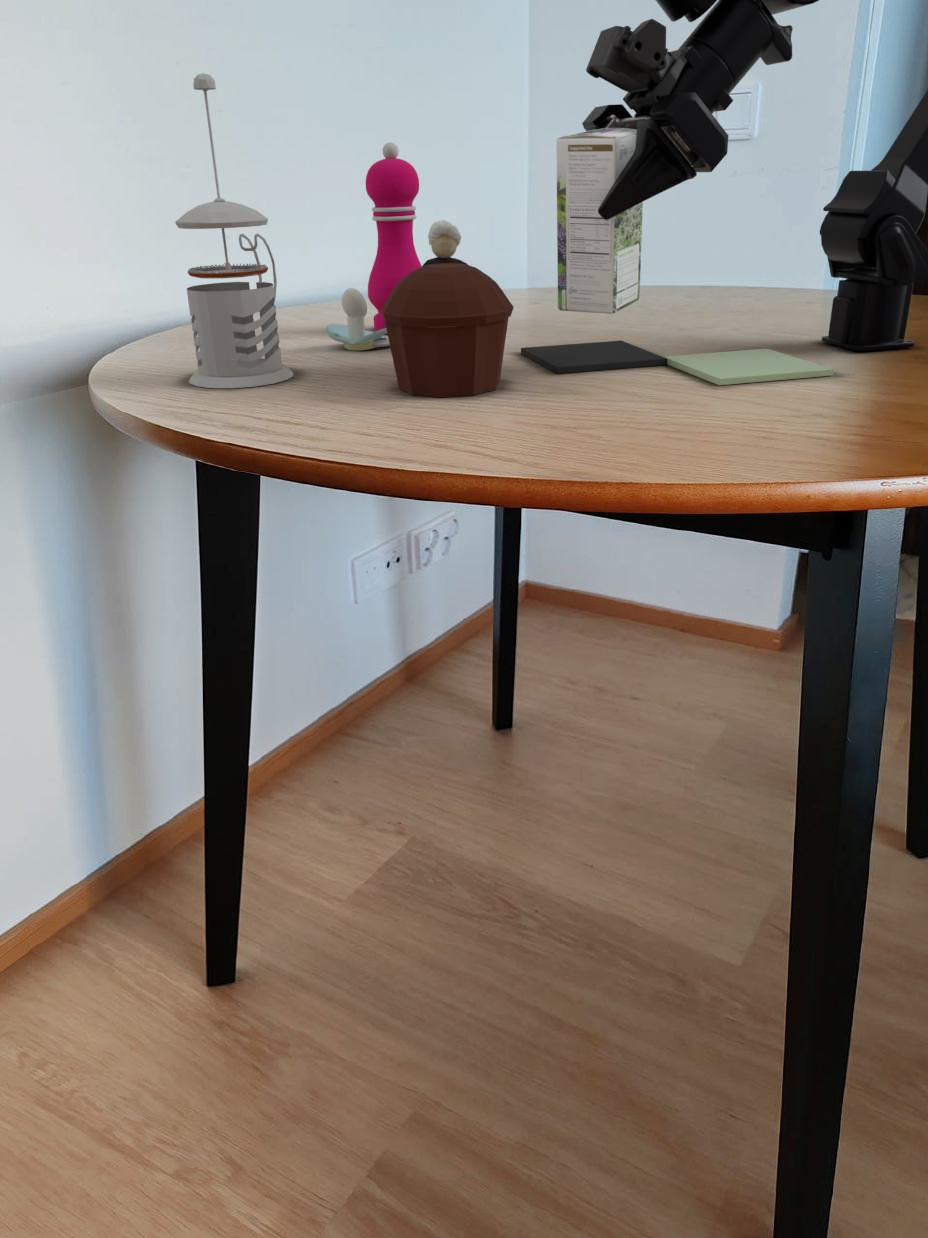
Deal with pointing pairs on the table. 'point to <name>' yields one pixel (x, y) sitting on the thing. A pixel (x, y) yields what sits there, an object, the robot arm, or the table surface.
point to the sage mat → (747, 366)
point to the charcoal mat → (592, 356)
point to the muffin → (447, 330)
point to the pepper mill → (391, 225)
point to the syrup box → (595, 224)
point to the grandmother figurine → (443, 242)
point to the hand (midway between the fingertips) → (584, 214)
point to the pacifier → (356, 325)
